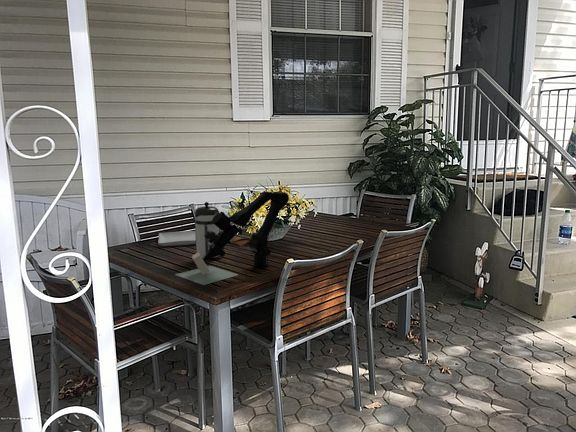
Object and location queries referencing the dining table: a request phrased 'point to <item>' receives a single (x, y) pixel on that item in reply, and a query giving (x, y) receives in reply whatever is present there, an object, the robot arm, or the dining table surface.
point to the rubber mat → (206, 275)
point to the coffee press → (204, 227)
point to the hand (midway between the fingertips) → (203, 260)
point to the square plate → (177, 238)
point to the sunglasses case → (240, 241)
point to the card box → (200, 263)
